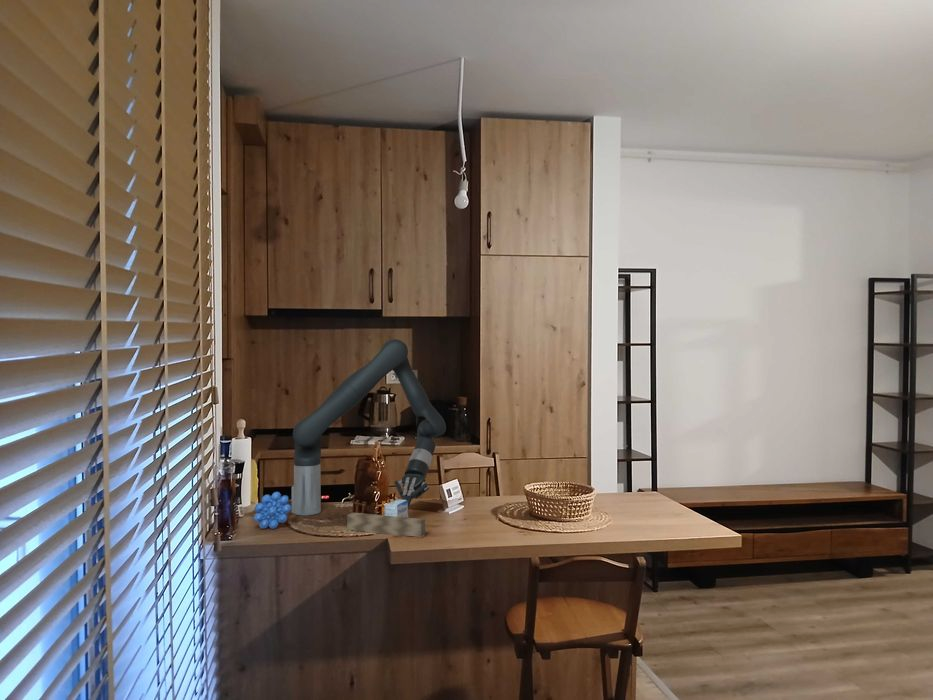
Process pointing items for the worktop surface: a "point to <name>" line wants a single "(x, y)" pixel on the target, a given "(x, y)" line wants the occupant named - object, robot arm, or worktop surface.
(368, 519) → the mottled grey bar
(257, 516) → the blue bumpy cluster
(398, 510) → the medicine box
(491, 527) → the worktop surface
